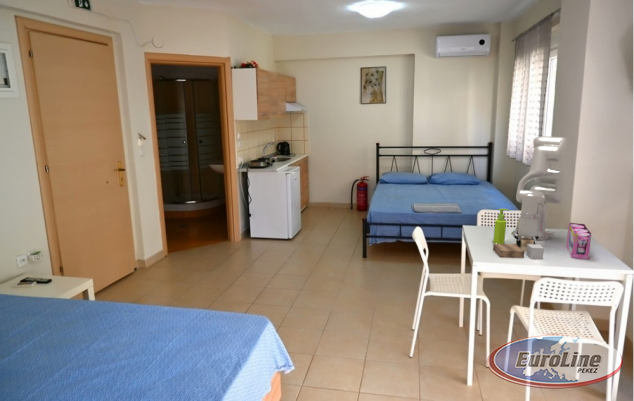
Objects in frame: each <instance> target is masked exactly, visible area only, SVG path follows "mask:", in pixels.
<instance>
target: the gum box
mask: <svg viewBox="0 0 634 401" xmlns="http://www.w3.org/2000/svg"><path fill="white" fill-rule="evenodd" d="M567 230H568V231H567V237H566V245H565V246H566V249H567V252H569V256H570V257H571V258H572V259H573V258H574V259H579V260H580V259H581V260H587V259H588V260H589V256H590V248H591V242H592V241H591V240H592V232H591V231H590V230H589V229H588V227H587V226H586V224H585V223H578V222H577V223H575V222H568V229H567Z"/></svg>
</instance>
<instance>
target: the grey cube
mask: <svg viewBox="0 0 634 401" xmlns="http://www.w3.org/2000/svg"><path fill="white" fill-rule="evenodd" d="M544 251H545V248H544V247H543V246H542V245H541V244H535V245H532V244H527V251H525V253H526V254H525V255H526V256H527V258H529V259H530V260H544Z"/></svg>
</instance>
